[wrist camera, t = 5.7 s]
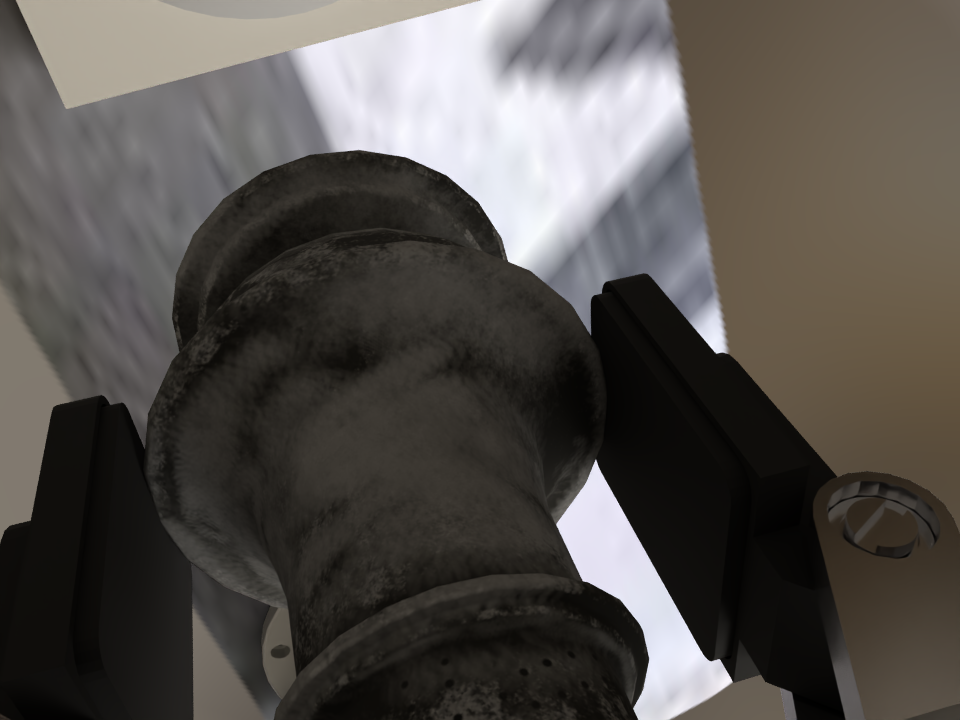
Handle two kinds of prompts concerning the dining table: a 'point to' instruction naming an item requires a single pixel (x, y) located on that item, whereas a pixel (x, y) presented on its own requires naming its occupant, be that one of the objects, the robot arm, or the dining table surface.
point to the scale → (187, 36)
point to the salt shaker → (390, 449)
